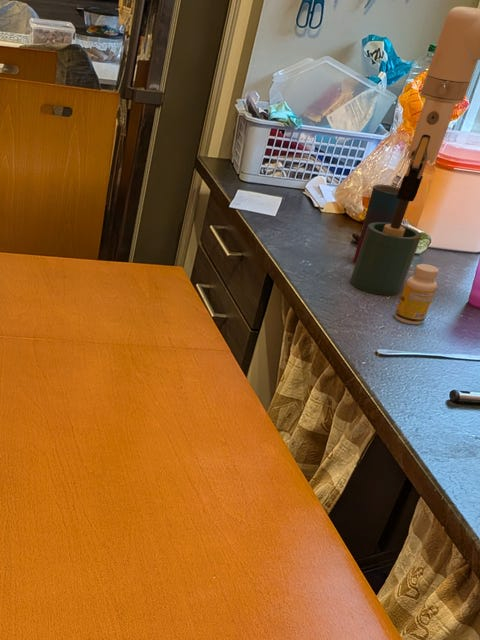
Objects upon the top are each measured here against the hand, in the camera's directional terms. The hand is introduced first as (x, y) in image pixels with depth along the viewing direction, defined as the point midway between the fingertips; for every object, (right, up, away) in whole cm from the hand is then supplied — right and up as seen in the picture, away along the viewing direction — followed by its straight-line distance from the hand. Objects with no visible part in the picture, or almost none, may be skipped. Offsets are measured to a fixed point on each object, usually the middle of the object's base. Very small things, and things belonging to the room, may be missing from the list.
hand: (405, 197), depth 179 cm
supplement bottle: (-1, -25, -2) cm, 25 cm away
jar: (-1, -13, +11) cm, 17 cm away
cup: (+1, -4, +22) cm, 23 cm away
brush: (-1, -6, +6) cm, 9 cm away
